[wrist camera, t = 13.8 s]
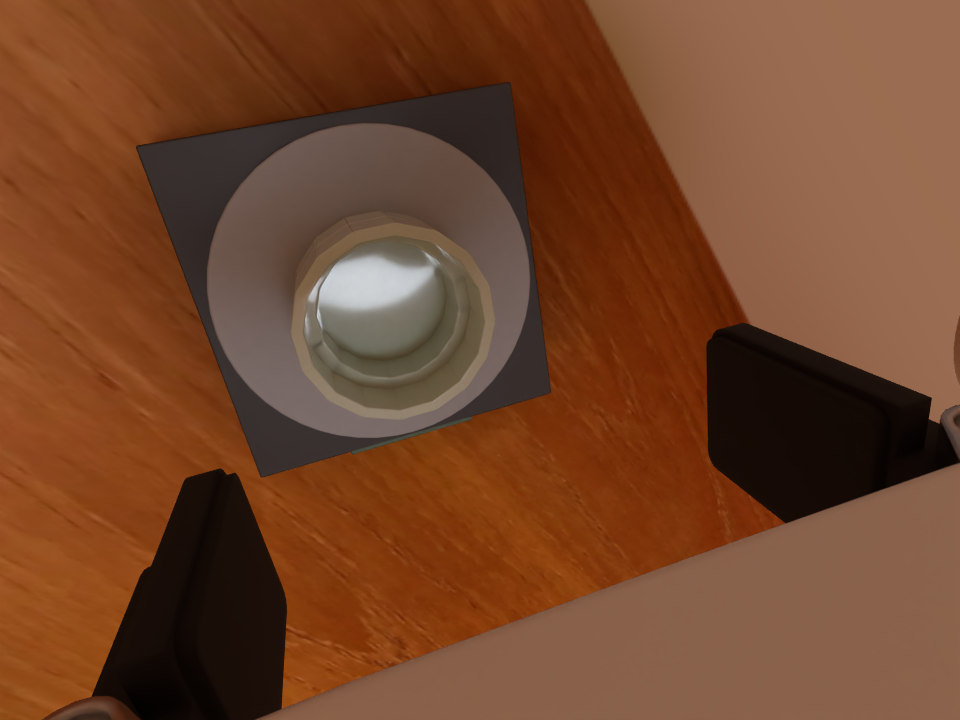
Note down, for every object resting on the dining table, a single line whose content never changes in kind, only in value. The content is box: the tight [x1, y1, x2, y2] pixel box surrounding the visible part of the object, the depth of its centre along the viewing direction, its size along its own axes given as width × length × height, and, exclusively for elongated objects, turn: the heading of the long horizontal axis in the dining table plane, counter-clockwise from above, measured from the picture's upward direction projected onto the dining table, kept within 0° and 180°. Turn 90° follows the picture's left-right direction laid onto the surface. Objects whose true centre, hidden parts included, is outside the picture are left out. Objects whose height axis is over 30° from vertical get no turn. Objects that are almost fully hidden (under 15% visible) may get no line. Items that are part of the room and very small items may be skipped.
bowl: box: [290, 211, 495, 420], centre depth 21 cm, size 7×7×4 cm
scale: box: [136, 82, 551, 477], centre depth 25 cm, size 14×14×4 cm
